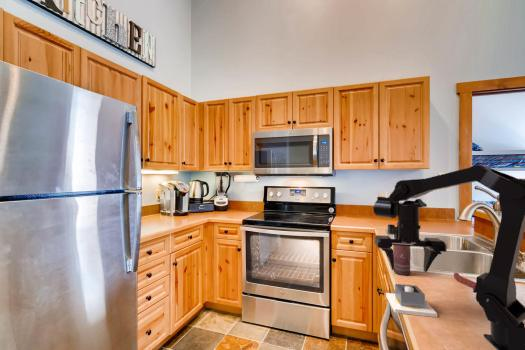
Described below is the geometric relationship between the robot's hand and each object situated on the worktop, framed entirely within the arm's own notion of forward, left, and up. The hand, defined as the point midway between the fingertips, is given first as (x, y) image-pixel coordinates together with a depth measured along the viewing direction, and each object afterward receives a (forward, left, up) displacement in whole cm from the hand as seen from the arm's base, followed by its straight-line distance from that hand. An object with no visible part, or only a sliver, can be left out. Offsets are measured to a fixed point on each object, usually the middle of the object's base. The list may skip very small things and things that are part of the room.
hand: (408, 270), depth 79 cm
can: (+29, -6, -11) cm, 32 cm away
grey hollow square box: (0, 0, -10) cm, 10 cm away
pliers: (+20, -28, -12) cm, 36 cm away
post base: (0, 0, -11) cm, 11 cm away
